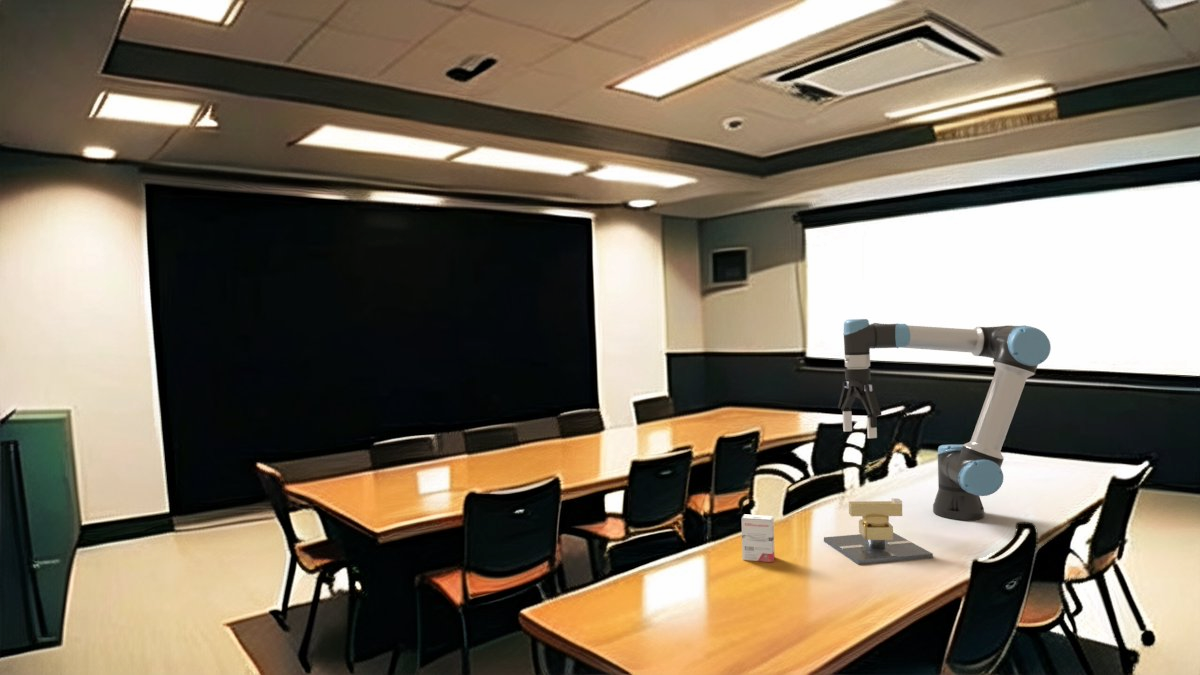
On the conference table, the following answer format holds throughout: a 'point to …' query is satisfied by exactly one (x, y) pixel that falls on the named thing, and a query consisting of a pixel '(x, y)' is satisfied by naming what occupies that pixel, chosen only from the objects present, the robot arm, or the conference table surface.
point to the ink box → (758, 538)
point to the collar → (876, 517)
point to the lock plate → (877, 549)
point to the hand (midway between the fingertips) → (859, 434)
